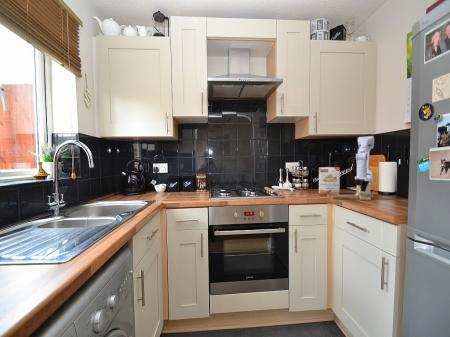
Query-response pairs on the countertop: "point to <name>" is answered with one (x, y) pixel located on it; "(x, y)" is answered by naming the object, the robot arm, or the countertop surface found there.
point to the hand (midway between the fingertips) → (361, 190)
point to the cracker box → (329, 180)
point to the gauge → (363, 194)
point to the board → (344, 197)
